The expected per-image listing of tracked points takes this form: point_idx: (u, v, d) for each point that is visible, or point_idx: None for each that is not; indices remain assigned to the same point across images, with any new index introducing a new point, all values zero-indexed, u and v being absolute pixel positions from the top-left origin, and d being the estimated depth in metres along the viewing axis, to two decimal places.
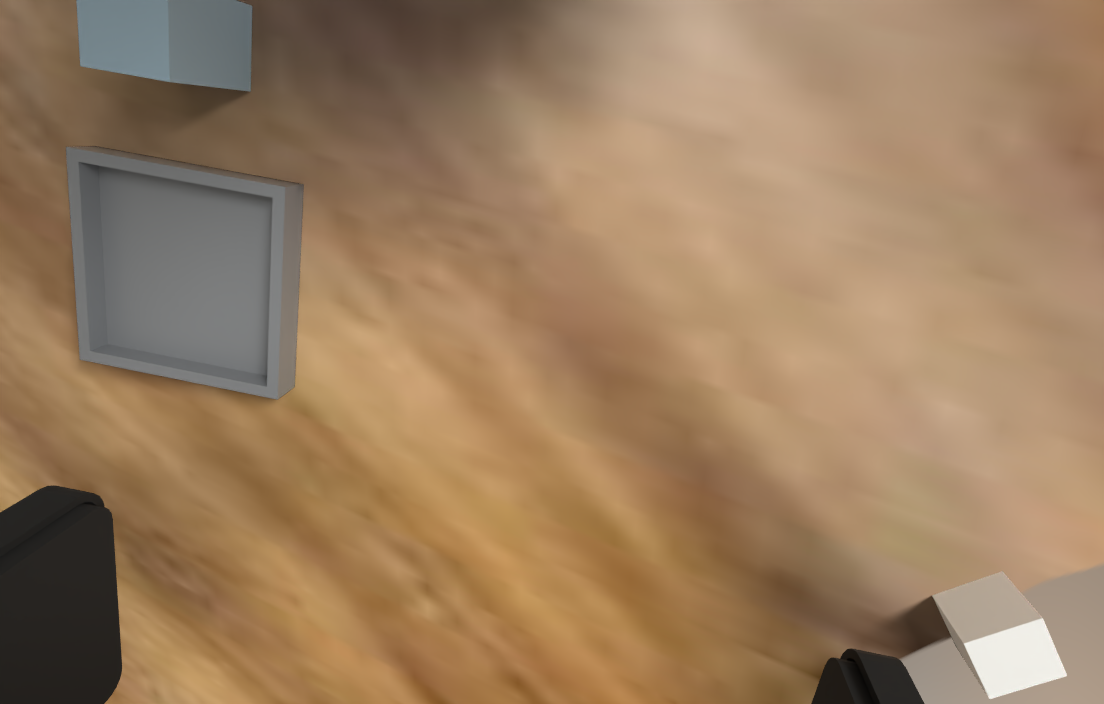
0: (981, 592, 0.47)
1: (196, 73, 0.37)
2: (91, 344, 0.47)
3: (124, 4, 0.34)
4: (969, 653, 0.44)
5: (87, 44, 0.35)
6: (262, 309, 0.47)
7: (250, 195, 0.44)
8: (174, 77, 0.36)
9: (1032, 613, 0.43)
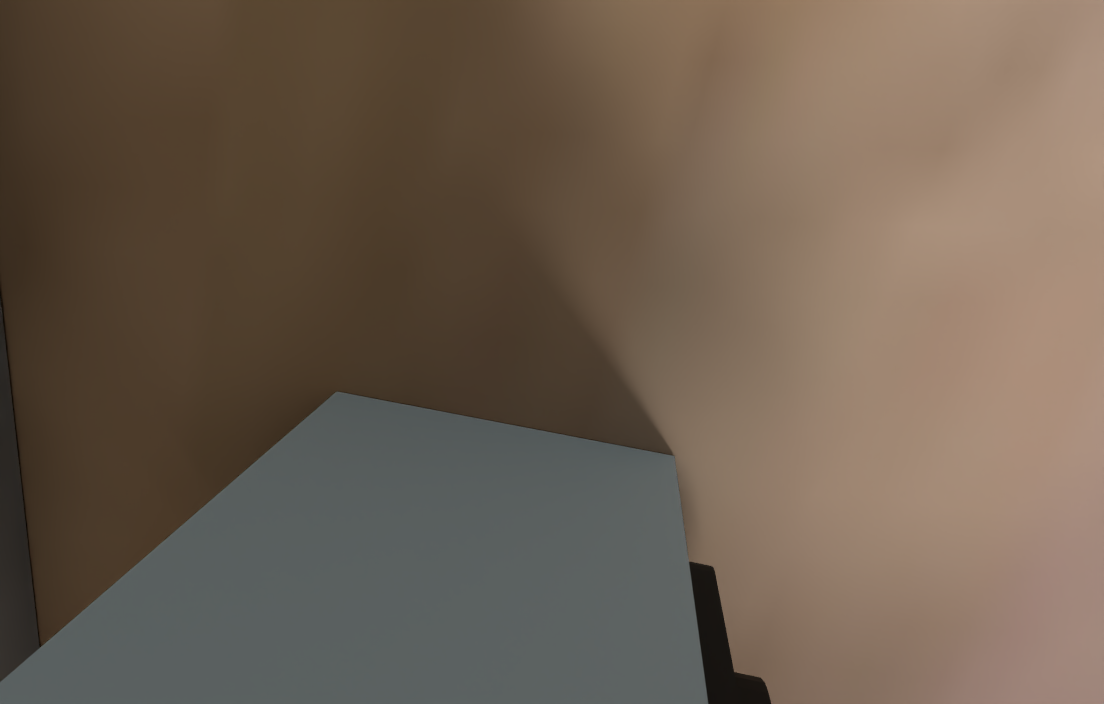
0: None
1: None
2: None
3: None
4: None
5: None
6: None
7: None
8: None
9: None
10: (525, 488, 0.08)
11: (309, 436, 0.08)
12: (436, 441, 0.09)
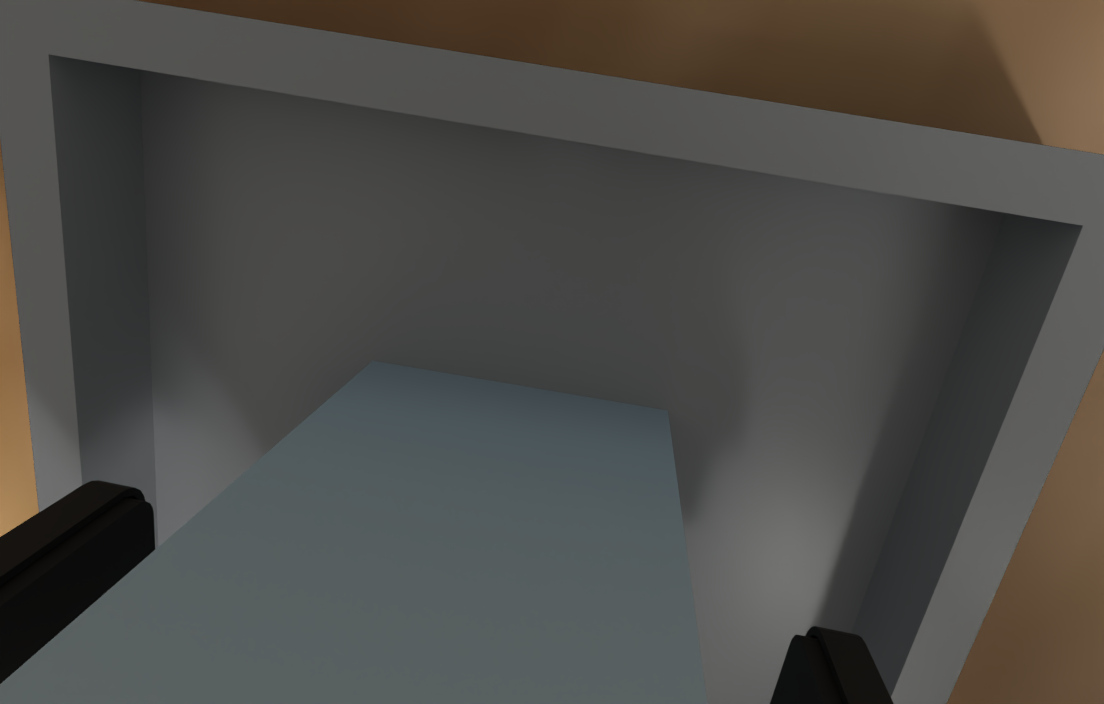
0: None
1: None
2: None
3: None
4: None
5: None
6: None
7: None
8: None
9: None
10: (540, 433, 0.10)
11: (354, 394, 0.10)
12: (462, 398, 0.10)
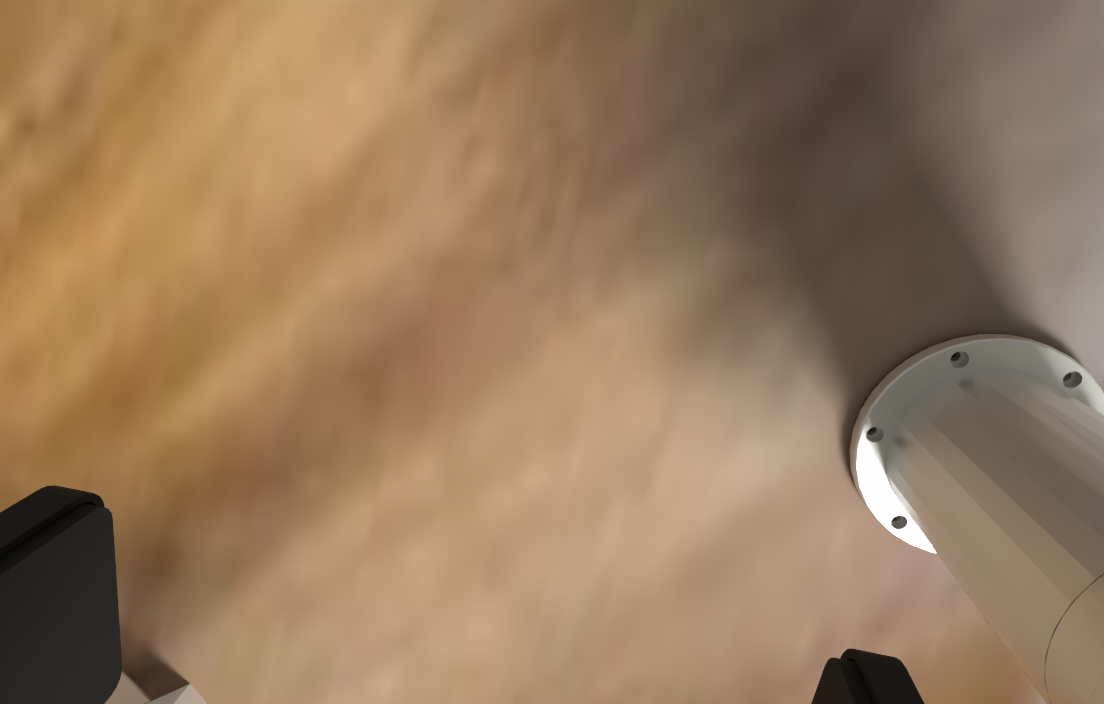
0: None
1: None
2: None
3: None
4: None
5: None
6: None
7: None
8: None
9: None
10: None
11: None
12: None
